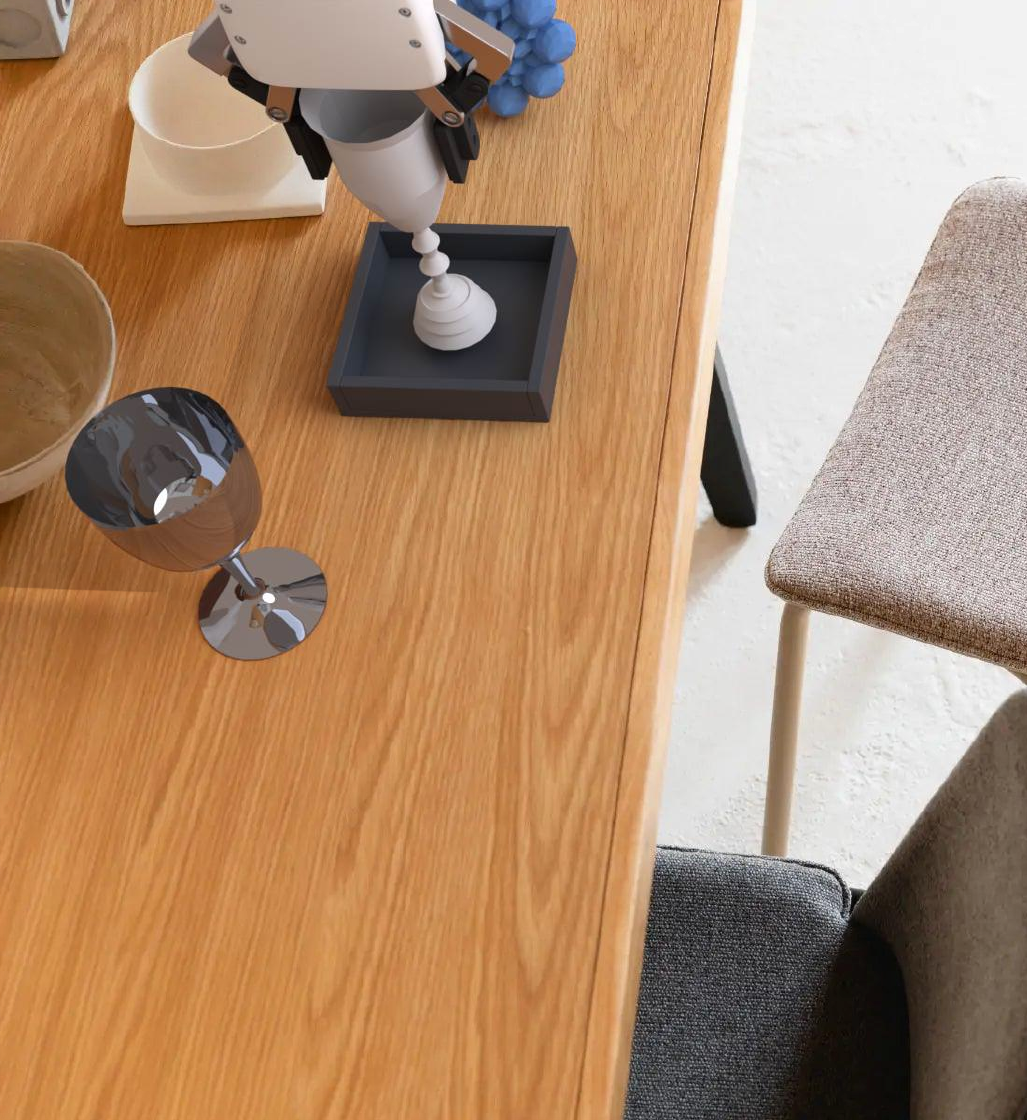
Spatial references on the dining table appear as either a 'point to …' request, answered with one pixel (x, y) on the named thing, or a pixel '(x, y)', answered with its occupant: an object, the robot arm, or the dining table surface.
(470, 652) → the dining table surface
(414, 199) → the chalice
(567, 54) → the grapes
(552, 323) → the tray
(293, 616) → the wine glass
